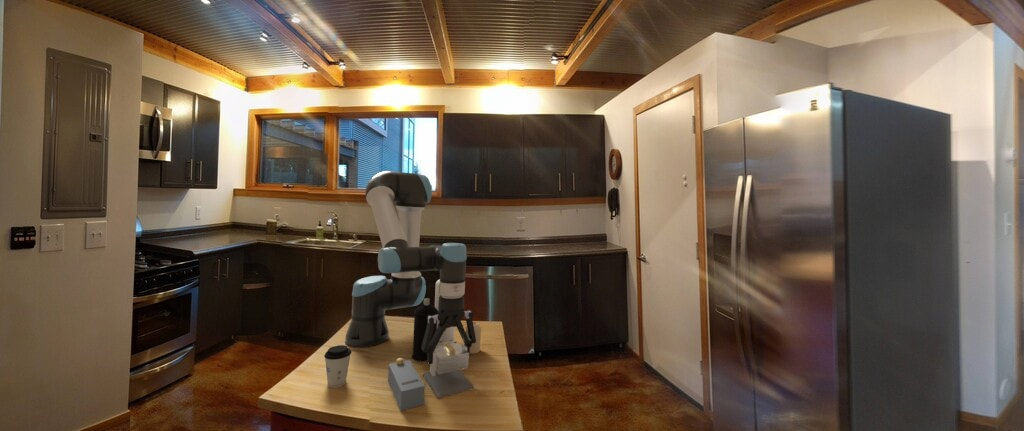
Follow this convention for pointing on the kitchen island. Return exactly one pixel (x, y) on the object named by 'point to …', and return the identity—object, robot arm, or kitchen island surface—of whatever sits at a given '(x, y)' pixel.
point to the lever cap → (451, 358)
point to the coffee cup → (337, 365)
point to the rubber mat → (448, 383)
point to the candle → (476, 346)
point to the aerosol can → (422, 328)
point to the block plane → (406, 384)
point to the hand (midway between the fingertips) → (448, 370)
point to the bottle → (449, 332)
